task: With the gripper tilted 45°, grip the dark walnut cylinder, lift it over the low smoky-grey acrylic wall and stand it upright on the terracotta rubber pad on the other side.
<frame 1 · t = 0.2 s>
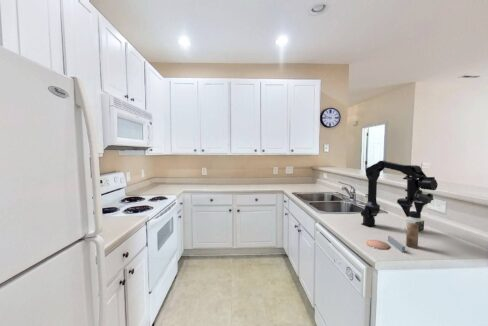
hand: (413, 215, 129), 14 cm above the worktop, tool pointing down, fingers open, 9 cm apart
resting pad: (377, 244, 124), on the worktop
walnut cylinder: (411, 246, 123), on the worktop
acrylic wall: (395, 246, 122), on the worktop
medicine bottle: (413, 230, 146), on the worktop
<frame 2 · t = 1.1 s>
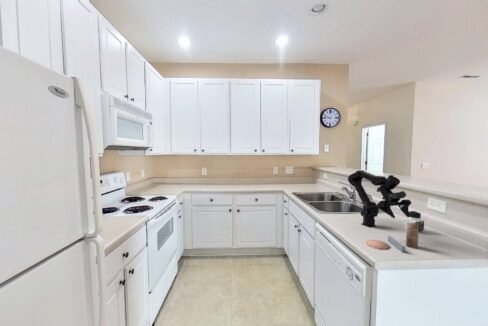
hand: (401, 217, 129), 13 cm above the worktop, tool tilted 45°, fingers open, 9 cm apart
nothing on the worktop moved.
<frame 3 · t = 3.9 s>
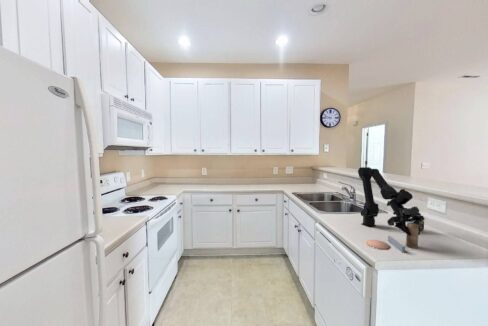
hand: (414, 235, 121), 7 cm above the worktop, tool tilted 45°, fingers closed on walnut cylinder, 5 cm apart
walnut cylinder: (411, 246, 122), on the worktop, touching gripper
everything else where it was.
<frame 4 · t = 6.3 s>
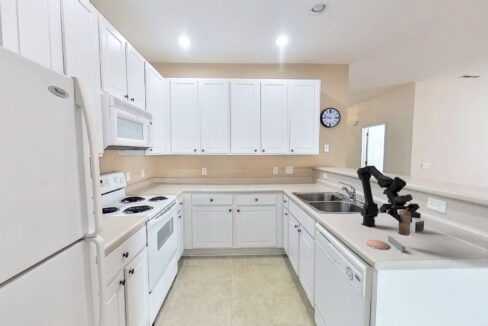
hand: (406, 222, 120), 13 cm above the worktop, tool tilted 45°, fingers closed on walnut cylinder, 5 cm apart
walnut cylinder: (403, 233, 122), point 7 cm above the worktop, touching gripper
everything else where it was.
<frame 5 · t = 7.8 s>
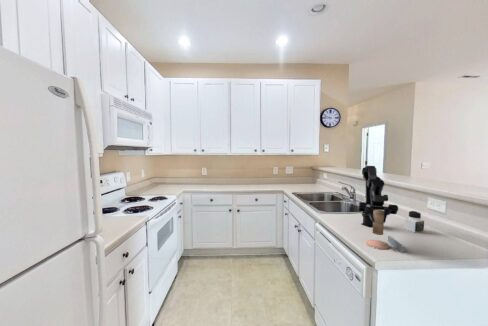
hand: (378, 222, 122), 13 cm above the worktop, tool tilted 45°, fingers closed on walnut cylinder, 5 cm apart
walnut cylinder: (377, 233, 124), point 6 cm above the worktop, touching gripper
everything else where it was.
when the fingers open (8 cm above the worktop, at t = 9.2 s): walnut cylinder stays where it is, resting on resting pad.
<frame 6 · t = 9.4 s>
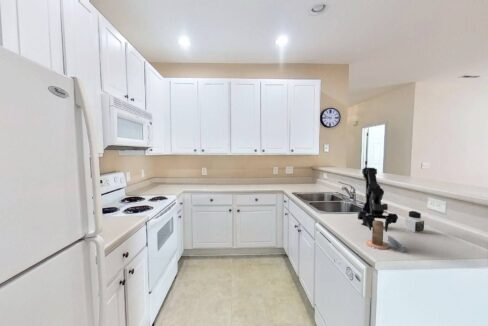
hand: (378, 231, 122), 8 cm above the worktop, tool tilted 45°, fingers open, 7 cm apart
walnut cylinder: (377, 243, 124), point 1 cm above the worktop, touching resting pad
everything else where it was.
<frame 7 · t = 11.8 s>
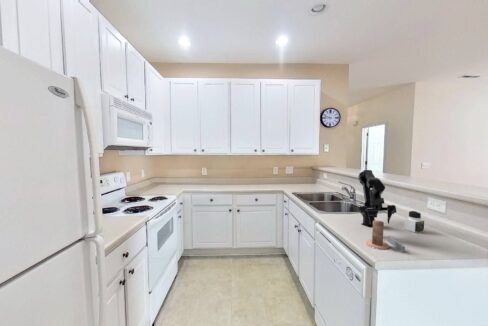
hand: (379, 223, 132), 9 cm above the worktop, tool tilted 35°, fingers open, 9 cm apart
nothing on the worktop moved.
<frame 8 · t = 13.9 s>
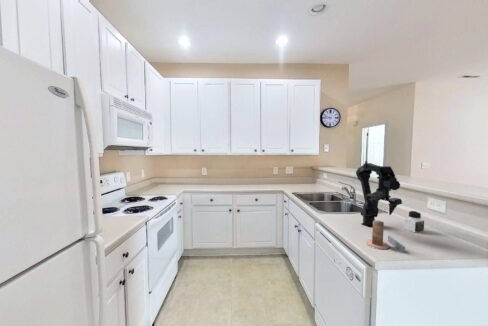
hand: (382, 212, 139), 13 cm above the worktop, tool pointing down, fingers open, 9 cm apart
nothing on the worktop moved.
at the end: walnut cylinder 0.0 cm off-centre on the resting pad, point 0.6 cm above the resting pad's base; walnut cylinder tilted 0°; the gripper is holding nothing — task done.
